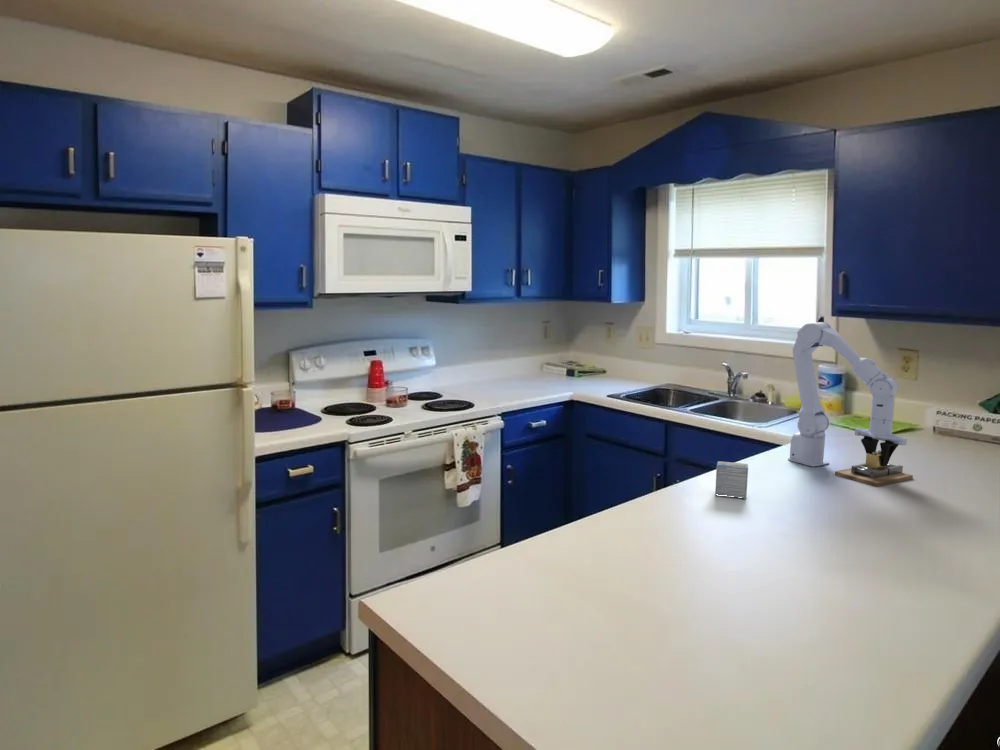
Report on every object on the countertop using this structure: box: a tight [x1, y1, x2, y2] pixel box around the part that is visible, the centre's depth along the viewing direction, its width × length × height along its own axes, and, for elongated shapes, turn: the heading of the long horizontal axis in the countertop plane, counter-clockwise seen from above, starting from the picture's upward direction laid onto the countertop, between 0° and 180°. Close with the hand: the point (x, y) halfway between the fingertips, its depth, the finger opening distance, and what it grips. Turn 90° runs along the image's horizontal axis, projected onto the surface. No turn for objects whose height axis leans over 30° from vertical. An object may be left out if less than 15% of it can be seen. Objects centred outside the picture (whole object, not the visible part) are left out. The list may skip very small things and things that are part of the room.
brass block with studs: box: [865, 449, 887, 470], centre depth 201 cm, size 4×5×6 cm
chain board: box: [834, 467, 914, 487], centre depth 201 cm, size 13×17×1 cm
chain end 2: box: [886, 463, 904, 475], centre depth 203 cm, size 7×7×2 cm
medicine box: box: [714, 460, 749, 499], centre depth 181 cm, size 8×4×9 cm, turn 71°
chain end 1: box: [850, 462, 888, 479], centre depth 200 cm, size 7×7×2 cm
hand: (877, 464), depth 201 cm, fingers closed on brass block with studs, 3 cm apart
